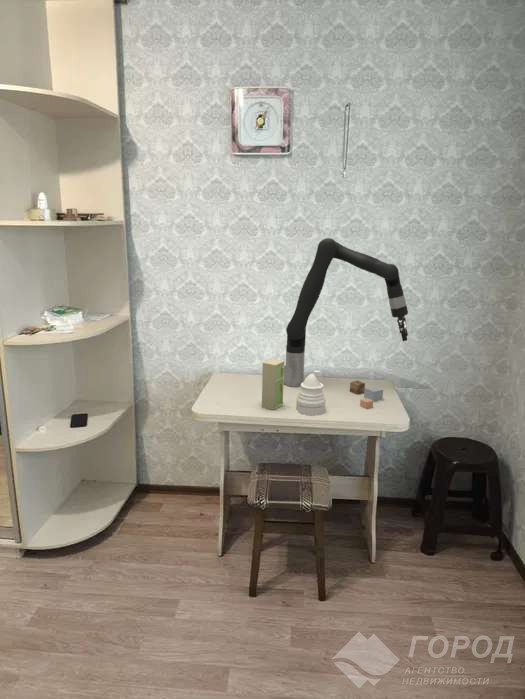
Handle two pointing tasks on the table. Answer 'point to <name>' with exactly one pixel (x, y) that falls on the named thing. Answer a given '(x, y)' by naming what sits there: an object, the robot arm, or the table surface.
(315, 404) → the honey pot
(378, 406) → the table surface
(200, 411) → the table surface
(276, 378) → the toy refrigerator
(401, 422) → the table surface
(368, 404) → the terracotta block
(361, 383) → the walnut block
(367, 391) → the slate block
